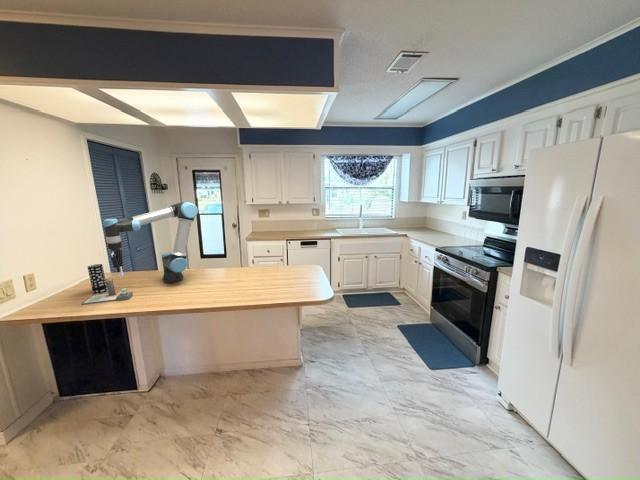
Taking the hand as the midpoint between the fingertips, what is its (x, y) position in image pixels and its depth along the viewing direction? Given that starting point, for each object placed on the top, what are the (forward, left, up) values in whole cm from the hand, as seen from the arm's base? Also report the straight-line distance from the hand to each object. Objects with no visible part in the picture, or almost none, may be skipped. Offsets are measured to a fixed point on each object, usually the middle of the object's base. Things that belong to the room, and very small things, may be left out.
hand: (120, 276), depth 181 cm
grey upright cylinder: (+10, -7, -15) cm, 19 cm away
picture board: (+14, -5, -16) cm, 22 cm away
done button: (0, 0, -14) cm, 14 cm away
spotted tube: (+23, -20, -16) cm, 35 cm away
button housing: (0, 0, -16) cm, 16 cm away
